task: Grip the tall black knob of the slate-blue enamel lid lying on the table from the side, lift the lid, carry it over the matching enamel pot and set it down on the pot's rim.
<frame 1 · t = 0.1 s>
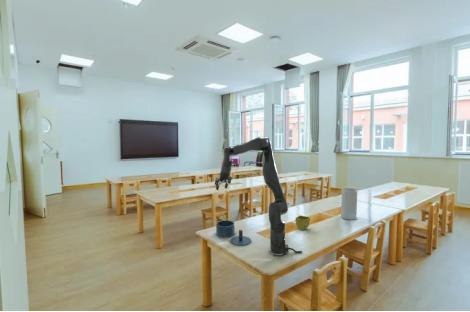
hand: (221, 188, 199), 31 cm above the table, tool tilted 20°, fingers open, 8 cm apart
lid: (240, 241, 175), point 1 cm above the table
cylinder vase: (348, 217, 222), on the table
pot: (225, 234, 188), on the table
flower pot: (302, 229, 197), on the table
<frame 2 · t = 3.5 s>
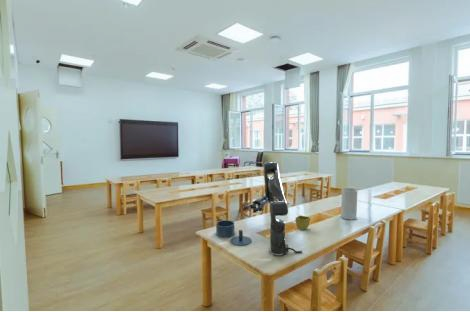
hand: (248, 210, 182), 20 cm above the table, tool horizontal, fingers open, 8 cm apart
nothing on the table moved.
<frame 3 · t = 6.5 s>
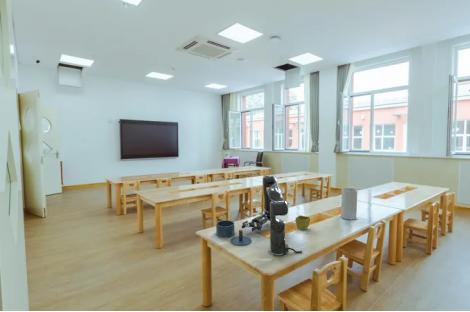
hand: (247, 228, 181), 7 cm above the table, tool horizontal, fingers open, 8 cm apart
nothing on the table moved.
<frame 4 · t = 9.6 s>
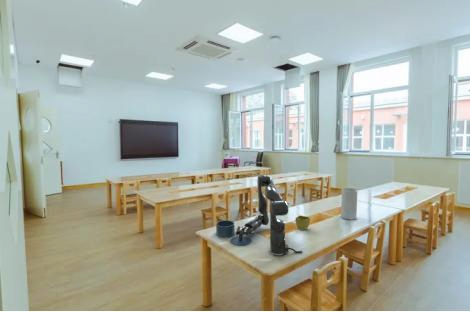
hand: (238, 234, 172), 7 cm above the table, tool horizontal, fingers closed on lid, 2 cm apart
lid: (240, 241, 175), point 1 cm above the table, touching gripper
everything else where it was.
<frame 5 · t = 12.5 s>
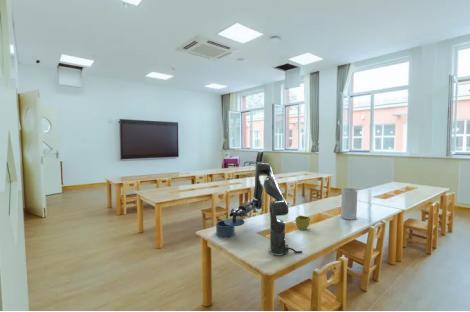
hand: (231, 215, 176), 18 cm above the table, tool horizontal, fingers closed on lid, 2 cm apart
lid: (234, 222, 179), point 12 cm above the table, touching gripper
everything else where it was.
when the fingers open (14 cm above the table, at t = 15.5 s): lid stays where it is, resting on pot.
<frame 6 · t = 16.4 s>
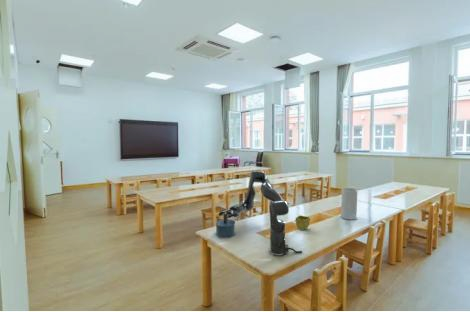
hand: (223, 215, 185), 15 cm above the table, tool horizontal, fingers open, 8 cm apart
lid: (225, 223, 187), point 8 cm above the table, touching pot
everything else where it was.
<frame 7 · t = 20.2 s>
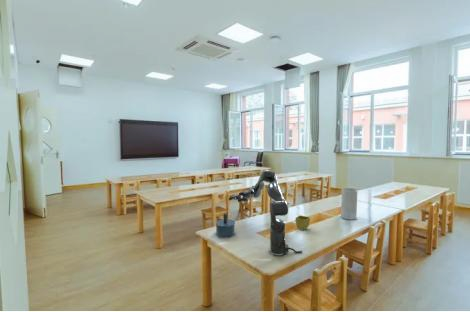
hand: (233, 200, 194), 24 cm above the table, tool horizontal, fingers open, 8 cm apart
nothing on the table moved.
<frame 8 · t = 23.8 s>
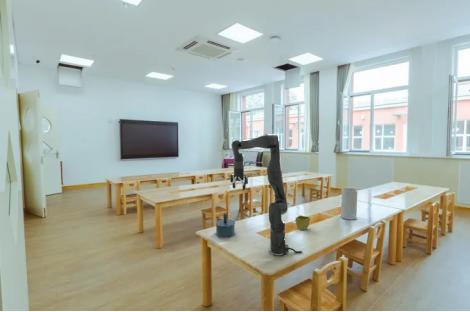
hand: (239, 189, 186), 34 cm above the table, tool pointing down, fingers open, 8 cm apart
nothing on the table moved.
at the end: lid 0.1 cm off-centre on the pot, point 8.5 cm above the pot's base; lid tilted 0°; the gripper is holding nothing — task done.
